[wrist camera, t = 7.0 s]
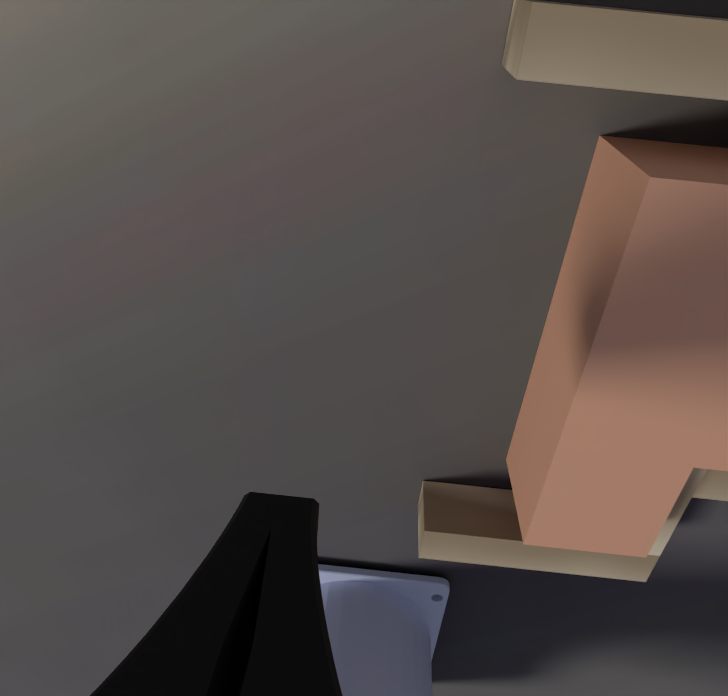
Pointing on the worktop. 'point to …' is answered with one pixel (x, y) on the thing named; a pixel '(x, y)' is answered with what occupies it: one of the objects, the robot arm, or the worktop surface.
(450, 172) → the worktop surface
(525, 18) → the nest
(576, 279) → the tee
